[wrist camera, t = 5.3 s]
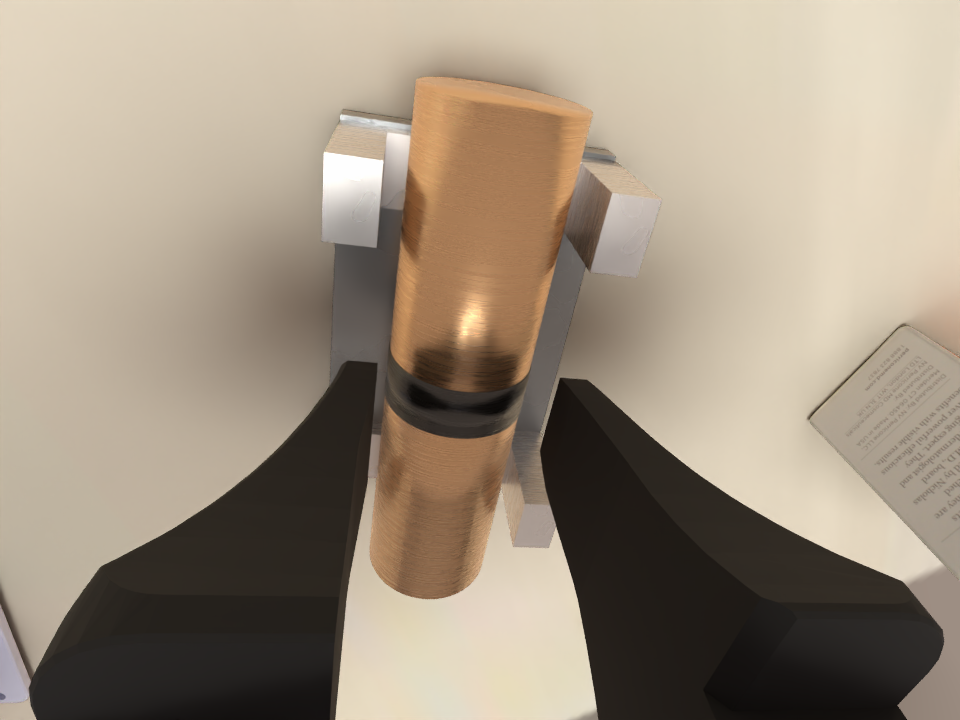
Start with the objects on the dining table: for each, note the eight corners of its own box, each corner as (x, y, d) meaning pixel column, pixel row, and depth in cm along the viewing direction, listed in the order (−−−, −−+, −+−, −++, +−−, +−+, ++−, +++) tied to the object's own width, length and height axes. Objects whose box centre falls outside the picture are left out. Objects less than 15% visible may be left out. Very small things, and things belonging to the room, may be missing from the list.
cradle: (328, 450, 18) (313, 544, 15) (343, 109, 13) (324, 146, 10) (525, 461, 19) (547, 550, 16) (608, 150, 14) (664, 195, 11)
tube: (479, 510, 18) (488, 601, 16) (373, 504, 18) (363, 597, 15) (572, 96, 12) (615, 126, 9) (416, 69, 12) (412, 93, 9)
